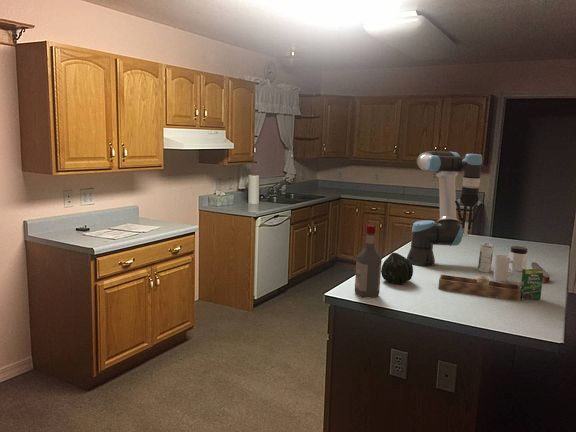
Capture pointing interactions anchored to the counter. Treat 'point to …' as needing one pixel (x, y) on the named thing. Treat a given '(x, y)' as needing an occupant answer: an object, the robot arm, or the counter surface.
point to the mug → (502, 267)
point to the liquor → (368, 267)
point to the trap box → (480, 287)
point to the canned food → (545, 274)
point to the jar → (518, 257)
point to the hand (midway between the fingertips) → (465, 235)
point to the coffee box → (531, 284)
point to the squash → (397, 269)
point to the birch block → (483, 280)
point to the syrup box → (485, 257)
